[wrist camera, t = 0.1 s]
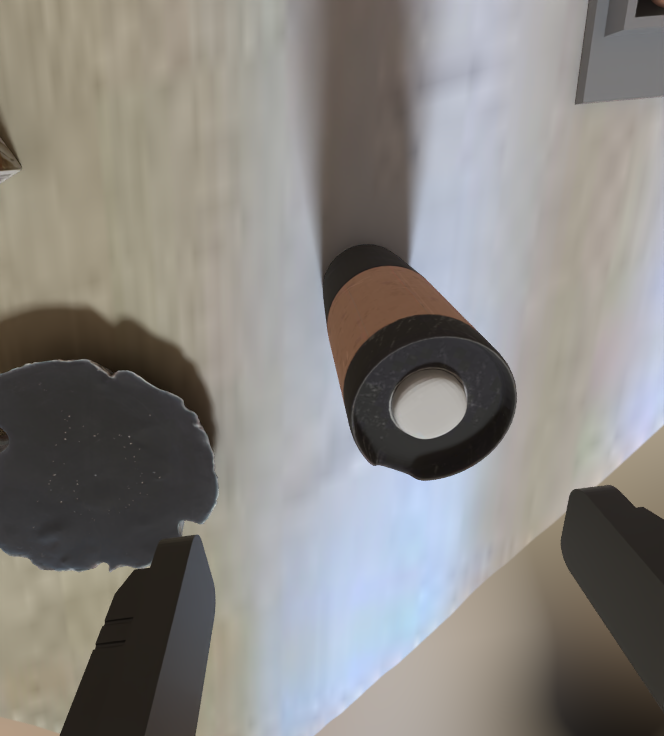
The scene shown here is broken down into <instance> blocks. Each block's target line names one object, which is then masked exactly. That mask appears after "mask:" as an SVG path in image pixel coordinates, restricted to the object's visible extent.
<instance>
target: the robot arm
mask: <svg viewBox="0 0 664 736" xmlns="http://www.w3.org/2000/svg"><path fill="white" fill-rule="evenodd" d="M561 550H562V554H563V558H564V561H565V563H566V565H567V567H568V569H569V571H570V572H571V574H572V575H573V577H574V578H575V580H576V581H577V583H578V584H579V586H580V587H581V589H582V590H583V592H584V593H585V595H586V596H587V598H588V599H589V601H590V603H591V604H592V605H593V607H594V609H595V610H596V612H597V613H598V615H599V616H600V617H601V619H602V621H603V622H604V624H605V625H606V627H607V628H608V630H609V631H610V633H611V634H612V636H613V637H614V639H615V640H616V642H617V643H618V645H619V646H620V648H621V649H622V651H623V652H624V654H625V655H626V657H627V658H628V660H629V661H630V663H631V664H632V666H633V667H634V669H635V670H636V672H637V673H638V675H639V676H640V678H641V679H642V681H643V682H644V684H645V685H646V687H647V688H648V690H649V691H650V693H651V694H652V696H653V697H654V699H655V701H656V702H657V704H658V705H659V706H660V708H661V710H662V711H663V713H664V519H662V518H660V517H659V516H657V515H655V514H654V513H652V512H651V511H649V510H647V509H646V508H644V507H638V508H636V507H635V506H633V504H632V503H631V502H630V501H629V500H628V499H627V498H626V497H625V496H624V495H623V494H622V493H621V492H620V491H619V490H618V489H617V488H615V487H614V486H611V485H605V486H597V487H589V488H581V489H574V490H573V491H572V492H571V493H570V496H569V501H568V506H567V511H566V516H565V521H564V527H563V531H562V536H561ZM214 615H215V588H214V582H213V579H212V575H211V572H210V568H209V565H208V561H207V558H206V554H205V551H204V547H203V544H202V541H201V538H200V536H199V535H191V536H183V537H175V538H167V539H162V540H160V541H159V543H158V545H157V548H156V551H155V554H154V557H153V560H152V563H151V566H150V568H144V569H136V570H134V571H133V572H132V573H131V575H130V576H129V577H128V578H127V580H126V581H125V582H124V583H123V585H122V586H121V587H120V588H119V589H118V591H117V592H116V593H115V595H114V598H113V600H112V603H111V605H110V608H109V611H108V613H107V616H106V618H105V625H104V626H102V628H101V631H100V634H99V636H98V639H97V641H96V648H95V650H93V652H92V654H91V657H90V659H89V662H88V664H87V667H86V669H85V672H84V675H83V677H82V680H81V682H80V685H79V687H78V690H77V692H76V695H75V698H74V700H73V703H72V705H71V708H70V710H69V713H68V715H67V718H66V721H65V723H64V726H63V728H62V731H61V733H60V736H195V734H196V728H197V722H198V716H199V709H200V703H201V697H202V691H203V684H204V678H205V672H206V666H207V659H208V653H209V647H210V641H211V634H212V628H213V622H214Z"/></svg>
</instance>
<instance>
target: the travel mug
mask: <svg viewBox="0 0 664 736" xmlns="http://www.w3.org/2000/svg"><path fill="white" fill-rule="evenodd" d="M323 299H324V307H325V315H326V323H327V331H328V336H329V341H330V345H331V350H332V354H333V358H334V362H335V367H336V371H337V375H338V379H339V384H340V388H341V392H342V396H343V401H344V405H345V409H346V413H347V418H348V422H349V426H350V430H351V433H352V436H353V439H354V441H355V443H356V445H357V447H358V449H359V450H360V452H361V453H362V455H363V456H364V457H365V458H366V460H367V461H368V462H369V463H370V464H372V465H373V466H376V465H381V466H385V467H388V468H392V469H395V470H398V471H401V472H404V473H406V474H409V475H410V476H412V477H414V478H415V479H418V480H422V481H427V480H436V479H441V478H445V477H448V476H452V475H455V474H457V473H460V472H462V471H464V470H466V469H468V468H470V467H472V466H474V465H475V464H477V463H478V462H480V461H481V460H483V459H484V458H485V457H486V456H487V455H489V454H490V453H491V452H492V451H493V450H494V449H495V448H496V447H497V445H498V444H499V443H500V442H501V440H502V439H503V438H504V436H505V434H506V433H507V431H508V429H509V427H510V425H511V423H512V420H513V417H514V414H515V409H516V403H517V392H516V384H515V380H514V377H513V374H512V372H511V370H510V368H509V366H508V364H507V363H506V361H505V360H504V359H503V357H502V356H501V355H500V353H499V352H498V351H497V350H496V349H495V348H494V347H493V346H492V345H491V344H490V343H489V342H488V341H487V340H486V339H485V338H484V337H483V336H482V335H481V334H480V333H479V332H478V331H477V330H476V329H475V328H474V327H473V326H472V325H471V324H470V323H469V322H468V321H467V320H466V319H465V318H464V317H463V316H462V315H461V314H460V313H459V312H458V311H457V310H456V309H455V308H454V307H453V306H452V305H451V304H450V303H449V302H448V301H447V300H446V299H445V298H444V297H443V296H442V295H441V294H440V293H439V292H438V291H437V290H436V289H435V288H434V287H433V286H432V285H431V284H430V283H429V282H428V281H427V280H426V279H425V278H424V277H423V276H422V275H420V274H419V273H418V272H417V271H415V270H414V269H413V268H412V267H410V266H409V265H408V264H407V263H405V262H404V261H403V260H402V259H400V258H399V257H398V256H396V255H395V254H394V253H392V252H391V251H389V250H387V249H385V248H383V247H380V246H376V245H359V246H355V247H352V248H350V249H348V250H346V251H344V252H343V253H341V254H340V255H339V256H337V257H336V258H335V260H334V261H333V262H332V263H331V265H330V266H329V268H328V270H327V272H326V275H325V278H324V282H323Z"/></svg>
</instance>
